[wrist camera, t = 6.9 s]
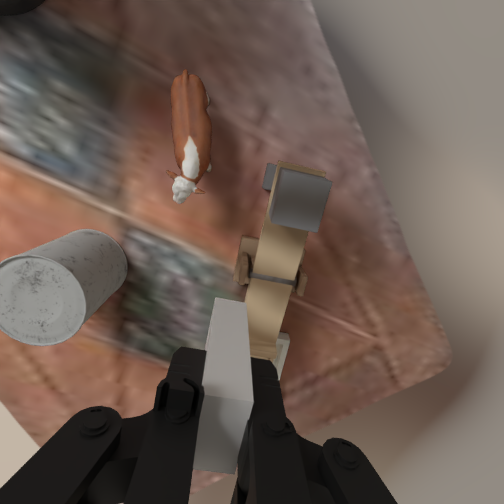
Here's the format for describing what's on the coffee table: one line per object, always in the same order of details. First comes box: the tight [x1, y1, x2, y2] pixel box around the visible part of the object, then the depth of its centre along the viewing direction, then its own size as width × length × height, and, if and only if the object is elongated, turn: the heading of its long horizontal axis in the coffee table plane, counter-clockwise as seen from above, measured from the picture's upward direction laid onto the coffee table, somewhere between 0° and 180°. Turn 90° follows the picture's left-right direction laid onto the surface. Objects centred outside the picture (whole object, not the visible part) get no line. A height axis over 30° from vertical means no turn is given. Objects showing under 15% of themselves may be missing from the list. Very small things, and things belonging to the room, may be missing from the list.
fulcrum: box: [233, 235, 308, 296], centre depth 41 cm, size 6×8×7 cm
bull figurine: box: [166, 69, 212, 204], centre depth 36 cm, size 4×13×8 cm, turn 176°
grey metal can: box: [0, 229, 127, 346], centre depth 37 cm, size 10×10×12 cm
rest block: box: [262, 163, 277, 190], centre depth 40 cm, size 3×6×2 cm, turn 78°
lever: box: [244, 161, 332, 363], centre depth 37 cm, size 26×6×5 cm, turn 168°
